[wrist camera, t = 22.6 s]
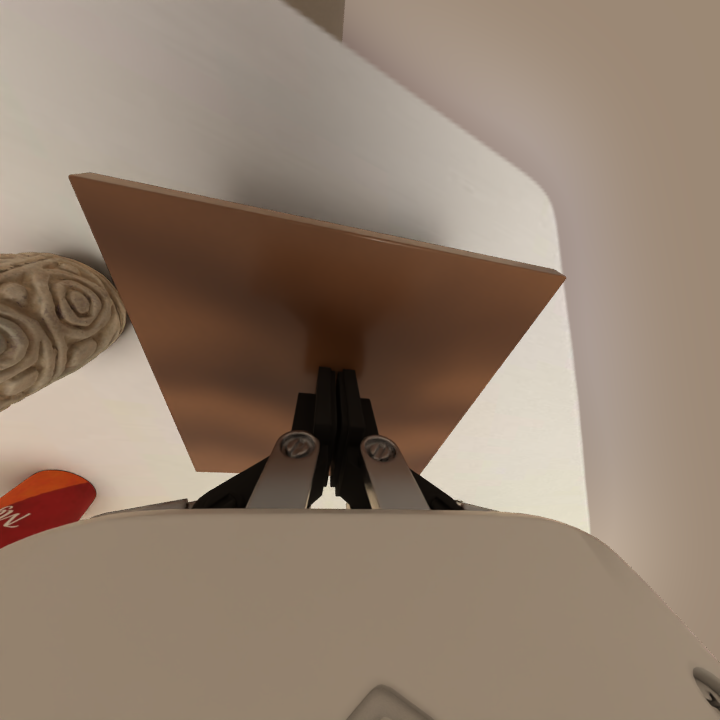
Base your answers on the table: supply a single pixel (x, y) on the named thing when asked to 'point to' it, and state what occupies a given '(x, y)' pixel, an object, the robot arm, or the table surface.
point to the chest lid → (302, 317)
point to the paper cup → (43, 504)
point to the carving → (51, 320)
